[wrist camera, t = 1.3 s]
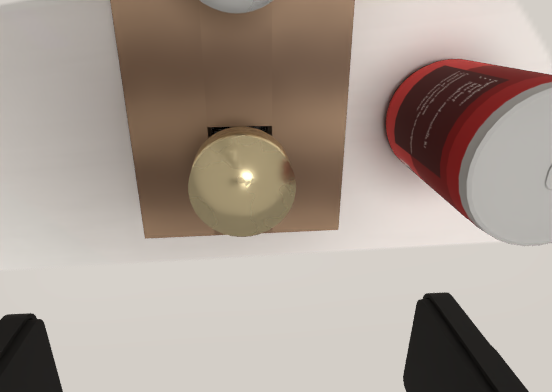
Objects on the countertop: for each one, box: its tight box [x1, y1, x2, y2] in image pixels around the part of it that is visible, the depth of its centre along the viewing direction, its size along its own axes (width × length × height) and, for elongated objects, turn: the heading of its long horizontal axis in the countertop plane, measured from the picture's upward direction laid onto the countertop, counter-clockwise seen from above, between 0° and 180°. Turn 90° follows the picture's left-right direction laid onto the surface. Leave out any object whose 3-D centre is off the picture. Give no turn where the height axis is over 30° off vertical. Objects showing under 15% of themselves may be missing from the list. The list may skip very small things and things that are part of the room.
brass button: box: [188, 126, 296, 237], centre depth 22 cm, size 5×5×6 cm
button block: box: [110, 0, 355, 238], centre depth 23 cm, size 20×12×4 cm, turn 0°
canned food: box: [386, 59, 552, 246], centre depth 23 cm, size 8×8×11 cm
